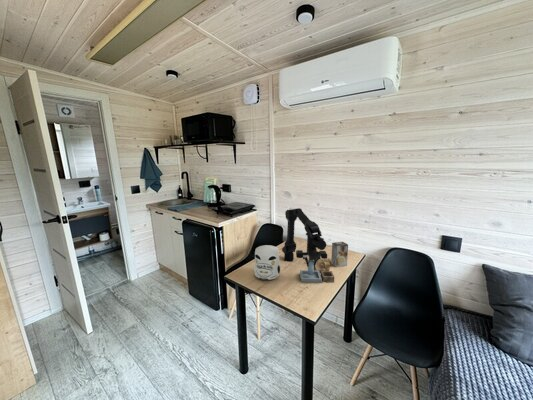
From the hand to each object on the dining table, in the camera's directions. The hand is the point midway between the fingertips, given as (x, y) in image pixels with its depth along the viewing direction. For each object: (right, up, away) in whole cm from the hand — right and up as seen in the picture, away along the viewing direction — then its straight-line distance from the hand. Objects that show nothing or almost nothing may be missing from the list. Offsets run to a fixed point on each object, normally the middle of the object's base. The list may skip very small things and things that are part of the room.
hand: (310, 266), depth 138 cm
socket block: (+10, -8, 0) cm, 13 cm away
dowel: (0, -5, +1) cm, 5 cm away
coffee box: (+24, -4, +19) cm, 31 cm away
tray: (0, -8, +1) cm, 8 cm away
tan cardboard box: (+8, -6, +12) cm, 16 cm away
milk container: (-28, -7, +5) cm, 29 cm away
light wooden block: (+13, -6, +12) cm, 18 cm away
